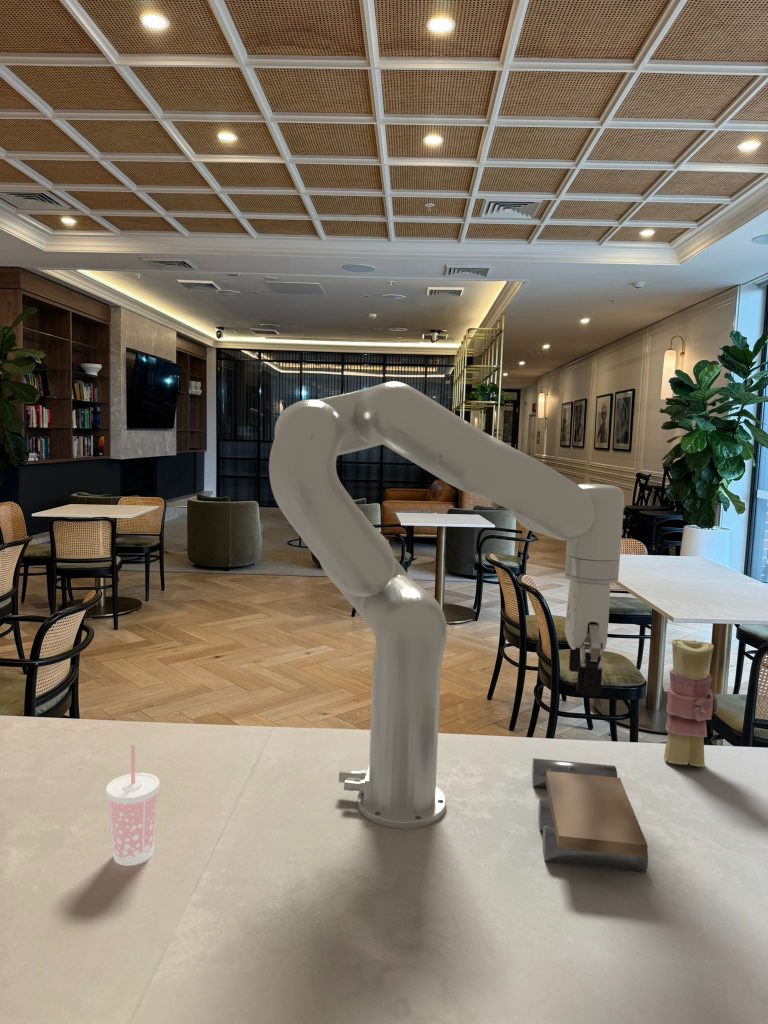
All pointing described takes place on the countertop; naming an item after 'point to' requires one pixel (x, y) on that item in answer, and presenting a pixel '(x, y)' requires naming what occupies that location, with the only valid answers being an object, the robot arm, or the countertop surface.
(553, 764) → the roller
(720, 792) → the countertop surface
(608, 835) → the slab
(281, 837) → the countertop surface
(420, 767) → the robot arm
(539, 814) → the cylinder
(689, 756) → the scroll
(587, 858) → the roller front
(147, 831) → the beverage cup
